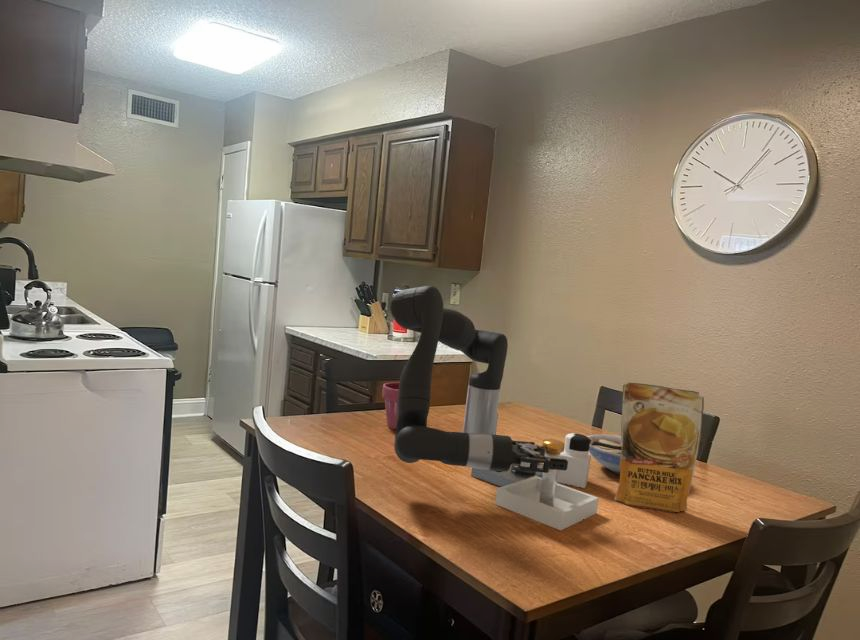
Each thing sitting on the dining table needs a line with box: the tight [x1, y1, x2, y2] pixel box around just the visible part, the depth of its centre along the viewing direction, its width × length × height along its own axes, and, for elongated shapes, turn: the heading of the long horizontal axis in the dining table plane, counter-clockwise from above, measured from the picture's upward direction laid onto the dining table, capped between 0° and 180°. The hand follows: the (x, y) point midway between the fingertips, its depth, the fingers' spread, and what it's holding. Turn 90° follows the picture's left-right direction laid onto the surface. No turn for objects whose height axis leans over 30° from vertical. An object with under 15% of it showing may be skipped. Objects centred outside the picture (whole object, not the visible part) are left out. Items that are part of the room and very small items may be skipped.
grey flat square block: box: [470, 463, 543, 488], centre depth 150 cm, size 13×13×4 cm
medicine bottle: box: [557, 432, 592, 489], centre depth 154 cm, size 7×7×12 cm
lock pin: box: [539, 438, 565, 507], centre depth 133 cm, size 5×5×14 cm
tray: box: [494, 476, 600, 531], centre depth 133 cm, size 16×16×4 cm
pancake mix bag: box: [613, 382, 705, 514], centre depth 143 cm, size 7×19×28 cm, turn 81°
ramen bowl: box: [586, 434, 622, 475], centre depth 168 cm, size 25×23×8 cm
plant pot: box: [381, 381, 399, 430], centre depth 189 cm, size 14×14×13 cm
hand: (561, 458), depth 133 cm, fingers open, 8 cm apart
